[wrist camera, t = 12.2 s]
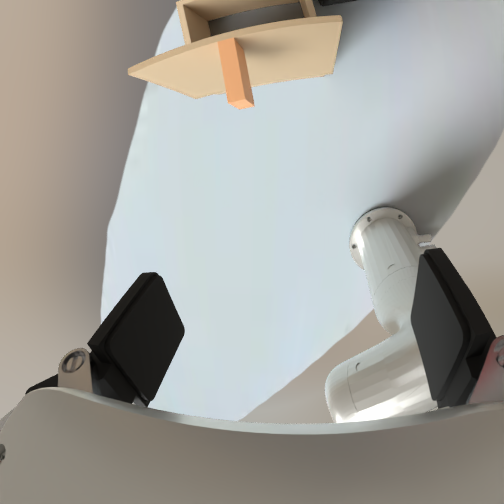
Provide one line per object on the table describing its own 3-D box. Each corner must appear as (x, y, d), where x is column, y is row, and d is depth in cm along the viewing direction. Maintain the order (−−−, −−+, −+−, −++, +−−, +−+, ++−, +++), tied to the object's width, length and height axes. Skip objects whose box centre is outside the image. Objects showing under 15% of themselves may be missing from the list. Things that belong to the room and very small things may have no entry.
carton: (303, -3, 28) (302, -28, 20) (323, 76, 35) (329, 68, 26) (202, 18, 32) (176, 2, 24) (219, 94, 39) (196, 93, 30)
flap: (340, 15, 13) (359, 84, 15) (331, 69, 26) (340, 114, 28) (127, 68, 17) (134, 130, 19) (195, 94, 30) (202, 136, 32)
